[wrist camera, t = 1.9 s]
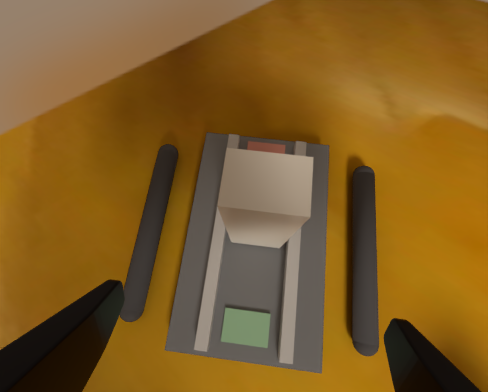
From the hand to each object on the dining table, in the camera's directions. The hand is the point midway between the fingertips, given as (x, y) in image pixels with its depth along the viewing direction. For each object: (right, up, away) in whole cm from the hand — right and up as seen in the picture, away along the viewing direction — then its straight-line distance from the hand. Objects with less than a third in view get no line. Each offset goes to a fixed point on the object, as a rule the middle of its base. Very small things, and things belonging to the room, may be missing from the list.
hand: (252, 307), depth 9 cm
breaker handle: (+1, +1, +10) cm, 10 cm away
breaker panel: (+1, 0, +12) cm, 12 cm away
